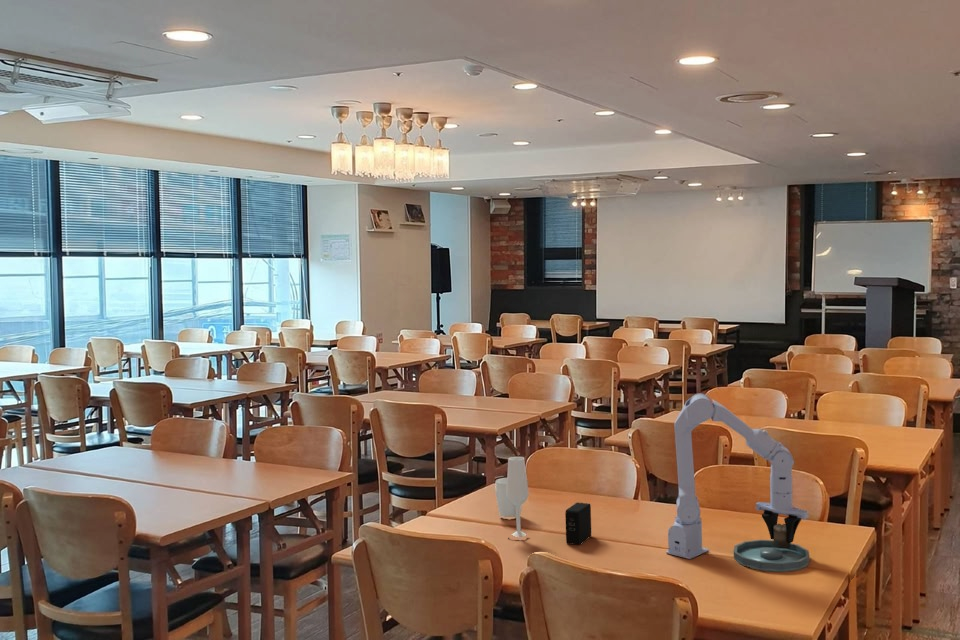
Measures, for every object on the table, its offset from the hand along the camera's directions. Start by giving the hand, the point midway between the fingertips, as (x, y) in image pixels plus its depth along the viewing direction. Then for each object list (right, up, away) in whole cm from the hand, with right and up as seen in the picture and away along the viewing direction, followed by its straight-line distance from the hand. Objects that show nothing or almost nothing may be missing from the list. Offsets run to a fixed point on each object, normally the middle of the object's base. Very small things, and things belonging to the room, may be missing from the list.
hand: (782, 540), depth 247 cm
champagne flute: (-71, -5, +23) cm, 75 cm away
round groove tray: (-4, -4, -4) cm, 7 cm away
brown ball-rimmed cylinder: (0, -2, 0) cm, 2 cm away
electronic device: (-53, -5, +19) cm, 57 cm away
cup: (-73, -4, +45) cm, 85 cm away
